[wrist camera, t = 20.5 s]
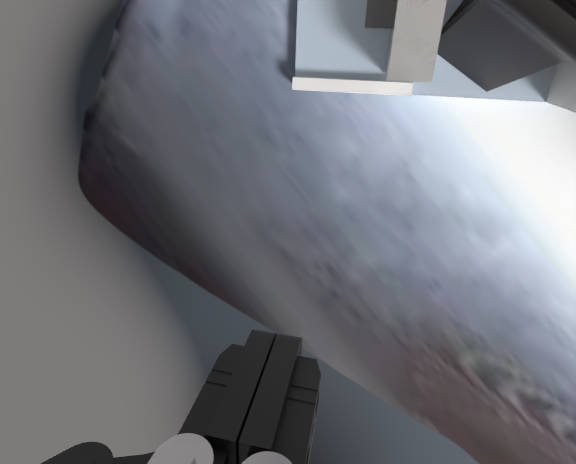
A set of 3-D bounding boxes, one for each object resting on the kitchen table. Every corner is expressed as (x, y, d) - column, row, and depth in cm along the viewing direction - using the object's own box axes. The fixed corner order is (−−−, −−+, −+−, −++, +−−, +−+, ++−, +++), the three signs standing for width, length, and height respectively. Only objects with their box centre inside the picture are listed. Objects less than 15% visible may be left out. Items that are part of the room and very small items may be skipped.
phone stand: (519, -74, 27) (610, -150, 16) (584, -20, 27) (713, -59, 17) (427, 46, 31) (452, 47, 20) (484, 91, 32) (538, 115, 21)
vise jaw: (446, -59, 28) (461, -83, 23) (423, 76, 32) (431, 82, 27) (375, -58, 29) (374, -81, 23) (361, 73, 33) (358, 79, 27)
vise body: (645, -84, 26) (730, -124, 20) (580, 102, 31) (631, 116, 25) (302, -76, 30) (282, -108, 24) (297, 87, 36) (279, 96, 29)
